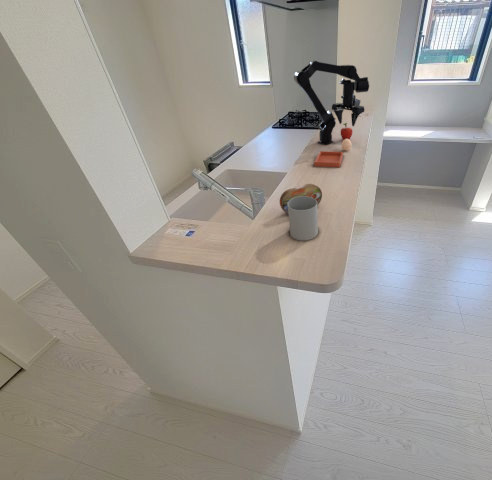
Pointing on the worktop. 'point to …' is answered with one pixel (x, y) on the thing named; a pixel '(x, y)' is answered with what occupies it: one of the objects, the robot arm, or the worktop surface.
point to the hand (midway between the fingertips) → (346, 124)
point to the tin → (300, 194)
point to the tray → (328, 159)
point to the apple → (346, 132)
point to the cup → (303, 217)
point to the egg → (346, 144)
